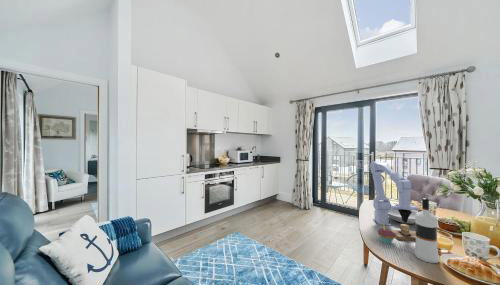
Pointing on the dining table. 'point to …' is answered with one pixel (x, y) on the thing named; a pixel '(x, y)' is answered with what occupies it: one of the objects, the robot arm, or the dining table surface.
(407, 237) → the seat board
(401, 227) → the peg
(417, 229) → the vodka
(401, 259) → the dining table surface
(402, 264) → the dining table surface
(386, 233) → the cupcake
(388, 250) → the dining table surface
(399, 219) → the soup bowl
